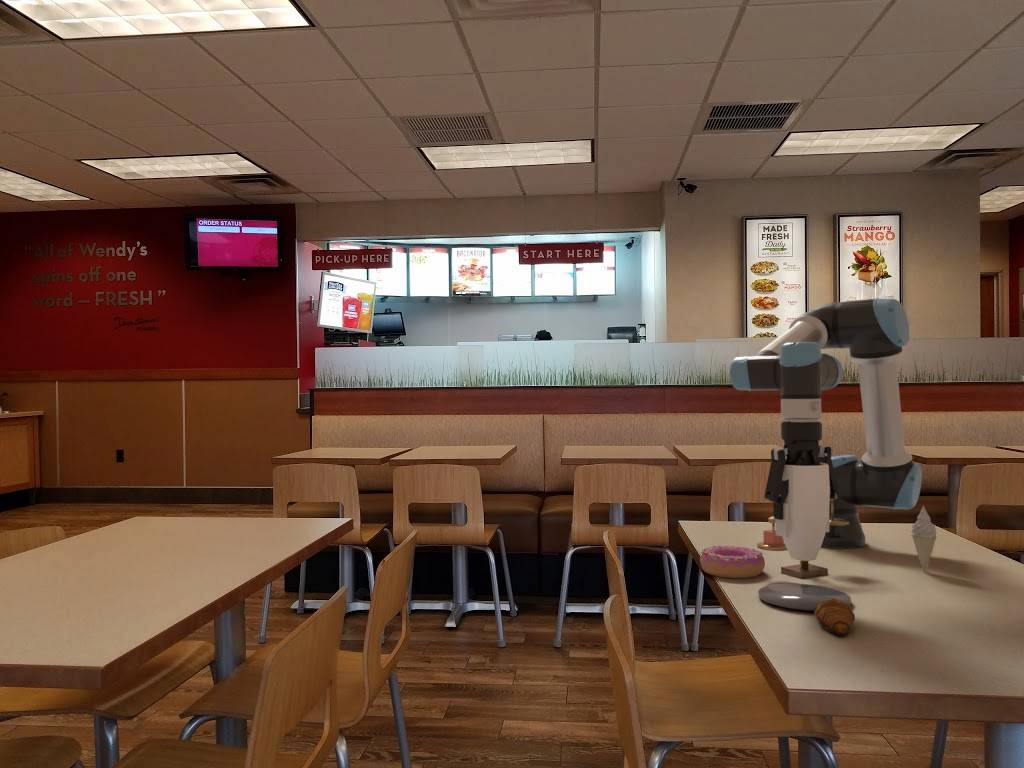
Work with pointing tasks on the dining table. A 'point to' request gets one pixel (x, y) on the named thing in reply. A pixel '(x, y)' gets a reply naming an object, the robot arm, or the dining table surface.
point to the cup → (807, 509)
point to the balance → (777, 544)
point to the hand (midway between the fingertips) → (802, 533)
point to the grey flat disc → (800, 595)
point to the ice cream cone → (924, 538)
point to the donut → (732, 561)
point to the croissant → (835, 616)
